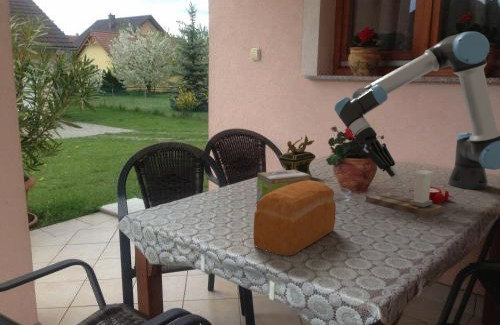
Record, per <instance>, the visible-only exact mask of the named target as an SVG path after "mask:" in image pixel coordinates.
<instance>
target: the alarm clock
mask: <svg viewBox="0 0 500 325" xmlns="http://www.w3.org/2000/svg"><path fill="white" fill-rule="evenodd" d="M408 191H409V192H414V190H410V189H408ZM442 192H443V191H442V189H441V188H438V187H435V186H430V194H429V200H432V203H434V204H436V205H441V204H442V203H443V202H448V201H452V200H454V199H455V197H454V196H451V195H450V192H449V191H448V190H446V189H445V190H444V194H443V193H442ZM412 199H414V194H413V196H412Z"/></svg>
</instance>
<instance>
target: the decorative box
mask: <svg viewBox="0 0 500 325" xmlns="http://www.w3.org/2000/svg"><path fill="white" fill-rule="evenodd" d="M304 136H305V137H304V141H303V142H300V141H302V139H303V137H302V136H301V137H300V139H298V140H297V141H295V142H294V143H292V141H290V140H288V141H287V143H286V144H287V147H288V149H287V152H285V153H283V154H282V155H280V156H279V157H278V158H279V161H280V162H281V163H282V164H283V165H284V171H285V170H297V171H300V172H303V173H306V174H309V175H311V177H312V176H313V175H312V173H311V171H310V165H311V163H312V162H313V161H314V160H315V159H316V155H315V154H314V153H312V152H310V151H306V149H307V146H311V145H313V144H314V142H315V140H309V137H307V135H306V134H305V135H304ZM299 142H300V143H299ZM297 143H299V145H298V148H297V147H296V146H295V145H297Z"/></svg>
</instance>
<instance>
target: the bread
mask: <svg viewBox="0 0 500 325" xmlns="http://www.w3.org/2000/svg"><path fill="white" fill-rule="evenodd" d="M334 197H335V191H334V189H333V188H331V187H330V186H329V185H328V184H325V183H323V182H321V181H318V180H317V181H316V180H306V181H301V182H297V183H293V184H289V185H287V186H284V187H281V188H279V189H277V190H274V191H272V192H270V193H268V194H266V195H264V196H263V197H262V198H261V199H260V200H259V201H258V202H257V201H256V207H257V210H255V212H254V216H253V217H254V218H253V245H254V246H255V247H256V246H257V247H256V248H258V247H259V248H258V249H260V248H262V249H264V250H263V251H265V250H267V251H266V252H268V251H270V252H269V253H272V252H273V254H276V253H277V255H280V254H282V255H281V256H285V255H286V256H285V257H288V255H289V256H294V255H296V254H297V253H298V252H300V251H302V250H304V249H305V248H307V247H309V246H310V245H312V244H314V243H315V242H317V241H319V240H321V239H322V238H324V237H325V236H327V235H328V234H329V233H331V232H333V231H334V229H335V224H336V213H337V212H336V208H337V207H336V201H335V198H334ZM262 249H261V250H262Z"/></svg>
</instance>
